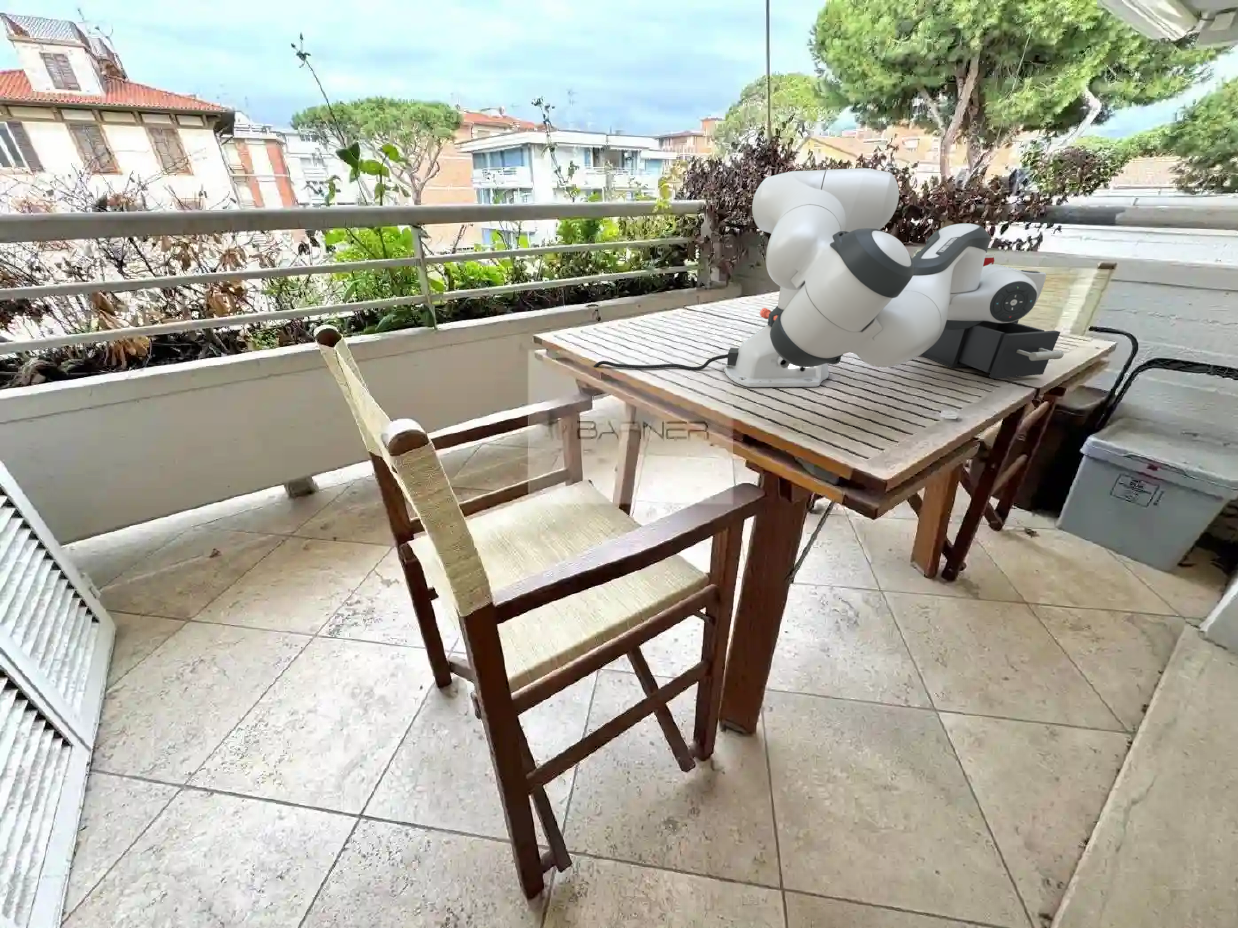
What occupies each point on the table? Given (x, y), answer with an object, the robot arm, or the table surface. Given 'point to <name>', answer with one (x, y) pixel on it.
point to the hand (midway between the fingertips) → (973, 279)
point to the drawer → (1009, 349)
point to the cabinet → (949, 348)
